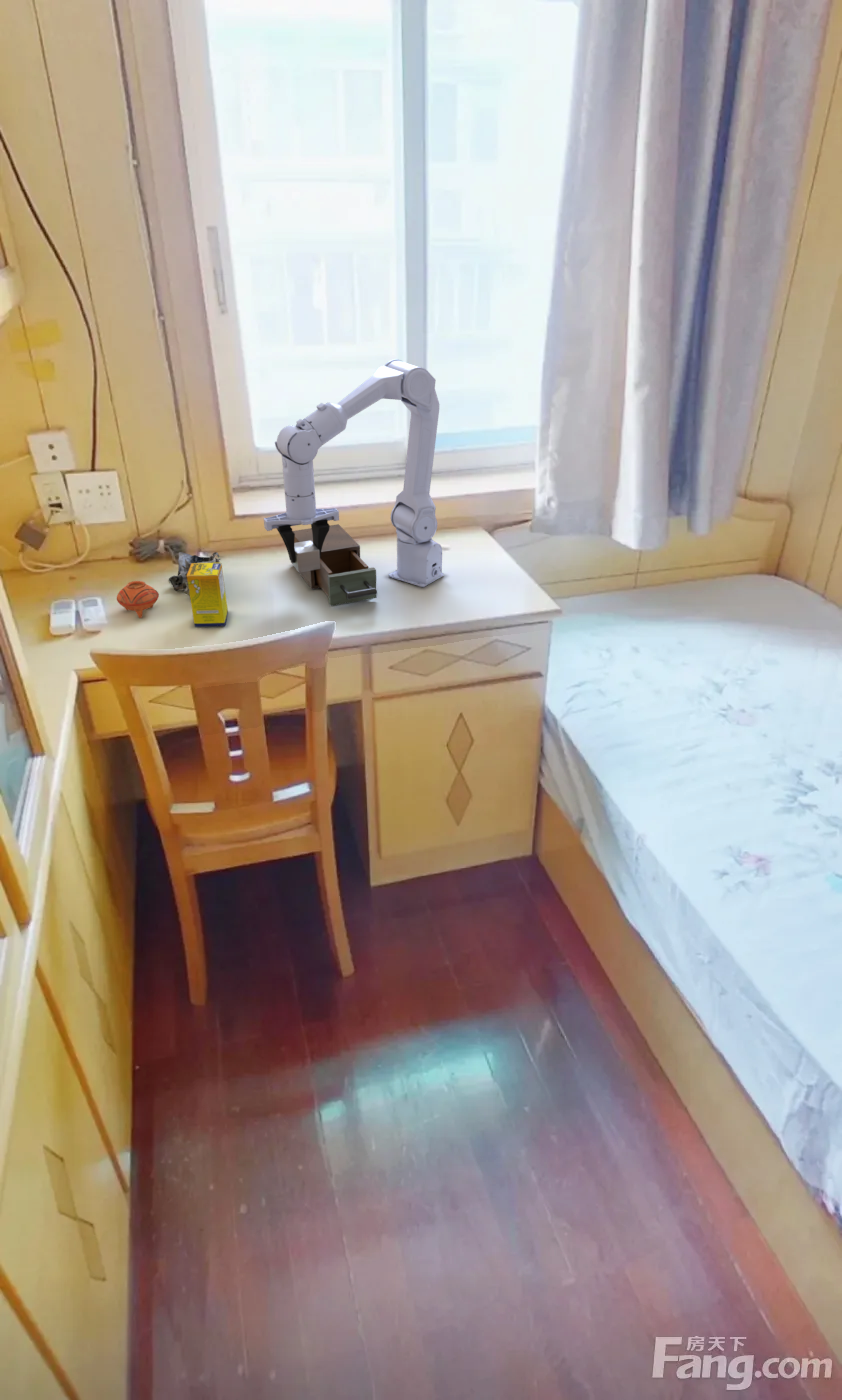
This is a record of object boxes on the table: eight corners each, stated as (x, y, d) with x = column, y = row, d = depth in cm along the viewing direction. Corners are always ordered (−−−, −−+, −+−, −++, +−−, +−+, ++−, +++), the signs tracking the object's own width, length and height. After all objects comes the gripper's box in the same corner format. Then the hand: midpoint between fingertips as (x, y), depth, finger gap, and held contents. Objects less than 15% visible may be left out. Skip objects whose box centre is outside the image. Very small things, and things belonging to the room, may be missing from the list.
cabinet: (361, 581, 179) (360, 545, 175) (311, 589, 175) (309, 553, 171) (340, 558, 189) (338, 524, 185) (293, 565, 186) (290, 531, 181)
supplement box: (198, 613, 165) (190, 562, 159) (228, 612, 166) (222, 561, 160) (193, 627, 160) (185, 575, 154) (225, 626, 161) (218, 574, 155)
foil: (236, 557, 181) (218, 544, 166) (232, 606, 181) (214, 597, 166) (182, 553, 181) (160, 539, 166) (178, 602, 181) (156, 593, 166)
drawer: (386, 608, 166) (386, 579, 163) (339, 617, 162) (338, 588, 159) (355, 574, 180) (354, 547, 176) (311, 582, 176) (309, 554, 173)
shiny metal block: (320, 568, 164) (319, 550, 162) (298, 572, 163) (297, 553, 161) (312, 558, 169) (310, 540, 167) (290, 562, 167) (289, 543, 165)
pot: (110, 619, 162) (107, 584, 160) (130, 610, 169) (127, 577, 167) (149, 621, 161) (146, 586, 159) (167, 612, 168) (164, 579, 166)
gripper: (268, 504, 152) (274, 572, 159) (343, 493, 157) (346, 560, 164) (258, 492, 157) (265, 559, 165) (330, 482, 162) (334, 547, 170)
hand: (304, 559), depth 165 cm, fingers closed on shiny metal block, 4 cm apart
